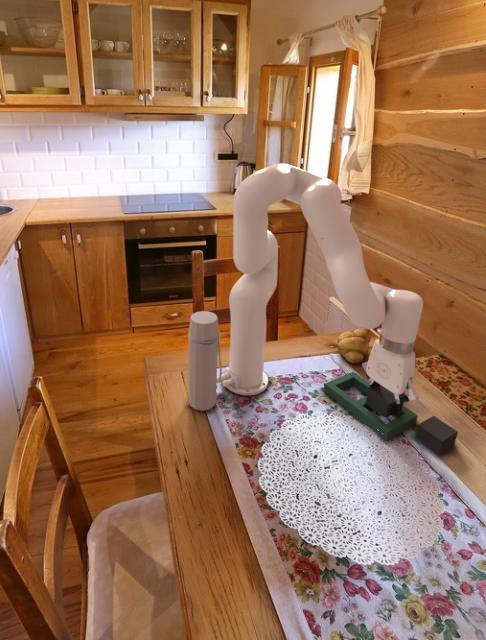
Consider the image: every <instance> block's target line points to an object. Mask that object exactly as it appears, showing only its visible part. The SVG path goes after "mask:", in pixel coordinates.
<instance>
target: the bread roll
mask: <svg viewBox="0 0 486 640" xmlns="http://www.w3.org/2000/svg"><path fill="white" fill-rule="evenodd" d="M370 330H371V329H363V328H360V327H359V328H357V329H355V330H354V331H344V332H342V333H341V334H340V335H339V336H338V338H337V350H338V353H339V354H340V355H341V356H342V357H344V358H345V360H346V361H347V362H349V363H351V364H359V363H361V362H362V361H363V359H364V358H365V357H367V355H368V354H369V348H370V342H371V339H372V332H371V331H370Z"/></svg>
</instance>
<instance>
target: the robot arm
mask: <svg viewBox="0 0 486 640" xmlns="http://www.w3.org/2000/svg"><path fill="white" fill-rule="evenodd" d="M342 195H343V194H342V191H341V188H340V187H339V185H338V184H336V182H334V181H333V180H331V179H329V178H325V177H323V176H320V175H318V174H315V173H313V172H310V171H307V170H304V169H302V168H299V167H298V166H297V167H296V166H294V165H292V164H288V163H280V162H279V163H274V164H272V165H269V166H266V167H264V168H262V169H259V170H257V171H255V172H254V173H252V174H250V175H248V176H247V177H246V178H244V179H243V180H242V181H241V182H240V184H239V185H238V186H237V187H236V190H235V192H234V195H233V201H232V202H233V204H232V208H233V209H232V212H233V213H232V214H233V215H232V216H233V217H232V218H233V223H232V227H233V228H232V257H233V258H232V259H233V263H234V266H235V268H236V269H237V270H238V271H239V272H240V273H242V274H243V275H242V276H241V277H240V278H238V280H237V281H236V282H235V283H234V285H233V286H232V288H231V290H230V293H229V297H228V305H229V312H230V336H229V337H230V339H229V364H228V366H227V367H225V371H223V372H222V376H221V381H220V382H218V383H217V384H220V383H222V386H223V387H225V388H226V389H227V390H228V391H230V392H232V393H234V394H236V395H241V396H255V395H258V394H261V393H263V392H264V391H265V390H266V389H267V388H268V386H269V377H268V375H267V373H265V372H266V371H264V367H265V355H266V354H265V353H266V338H267V306H268V303H269V301H270V299H271V297H273V295H274V293H275V291H276V289H277V285H278V270H279V269H278V265H279V244H278V241H277V238H276V237H275V235H274V233H273V232H271V231H270V230H269V215H268V209H269V207H271V206H273V205H275V204H277V203H280V202H281V201H283V200H286V201H289V202H291V203H294V204H297V205H299V206H300V210H301V212H302V215H303V217H304V219H305V220H306V223H307V224H308V226H309V228H310V231H311V233H312V235H313V237H314V239H315V240H316V243H317V245H318V247H319V249H320V250H321V252H322V256H323V257H324V260H325V264H326V267H327V270H328V272H329V276H330V278H331V281H332V285H333V287H334V290H335V292H336V295H337V297H338V299H339V302H340V303H341V305H342V307H343V309H344V312H345V313H346V315H347V317H348V318H349V320H350V321H351V322H352V323H353V325H355V326H356V327H358V328H359V329H360V328H363V329H368V330H373V329H376V328H377V327H378V328H377V329H376V333H377V334H378V335H379V336H378V339H376V340H375V341H374V344H373V345H372V348H371V350H370V353H369V355H368V356H369V357H368V359H367V361H365V362H363V363H362V364H361V366H362V368H363V371H364V373H365V376H366V377H367V381H368V384H369V390H370V389H373V388H375V387H377V386H379V385H382V386H383V387H385V388H386V389H388V390H389V391H391V392H392V393H394V396H395V401H393V402H392V408H391V412H390V415H391V416H390V417H394V416H396V414H399V413H401V411H402V408H403V406H404V403H408V402H413V401H416V400H419V399H420V396H419V393H418V392H417V389H416V387H415V385H414V378H415V374H416V373H415V372H416V353H415V352H414V349H415V345H416V340H417V336H418V330H419V326H420V322H421V318H422V313H423V308H424V299H422V297H421V296H420V295H419V294H418V293H416V292H414V291H410V290H405V289H395V288H392V287H388V286H385V285H382V284H379V283H376V282H371V281H370V279H369V277H368V273H367V270H366V267H365V263H364V257H363V255H364V254H363V248H362V245H361V241H360V238H359V236H358V234H357V233H356V230H355V228H354V227H353V225H352V223H351V220H350V219H349V216H348V214H347V212H346V210H345V208H344V205H343V203H342ZM380 325H381V327H379V326H380ZM219 375H220V374H217V381H218V380H219ZM407 392H408V394H407ZM400 394H401V396H400Z"/></svg>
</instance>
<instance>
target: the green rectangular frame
mask: <svg viewBox="0 0 486 640" xmlns="http://www.w3.org/2000/svg"><path fill="white" fill-rule="evenodd" d="M350 386H354V387H355V388H357V389H358V390H359V391H360V392H362V393H363V394H364V395H366V396H364V397H362V398H359V399H357V400H355V399H354V398H353V397H352V396H350V395H349V394H348V393H346V392H345V391H344V389H345V388H348V387H350ZM368 390H369V384H368V380H366V379H365V378H364V377H362V376H360V375H359V374H358V373H356V372H355V371H350V372H349V373H346V374H343V375H342V376H339V377H336V378H334V379H332V380H330V381H327V382H325V383H324V385H323V392H324V393H326V394H327V395H328V396H329V397H331V399H333V400H334V401H336V402H337V403H338V404H339V405H340V406H342V407H343V408H345V409H346V410H347V411H348V412H350V413H351V414H352V415H353V416H354V417H356V418H357V419H359V420H360V421H361V422H362V423H364V424H365V425H366V426H368V427H369V428H370V429H371V430H373V431H374V432H375V433H376V434H378V435H379V436H380V437H382V438H383V439H384V440H385V441H388V440H389V439H392V438H393V437H395V436H396V435H399V434H400V433H402V432H404V431H406V430H408V429H409V428H411V427H413V426H414V425H416V424H417V421H418V416H419V415H418V414H416V413H415V412H413V411H412V410H411V409H409V408H408V407H406V406H405V405H403V408H402V411H401V413H399V414H396V415H395V417H396V418H394V419H392V420H390V421H388V422H385V421H384V420H383V419H381V418H379V417H378V416H377V415H375V414H374V413H373V412H372V411H371V409H372V408H371V407H370V406H369V405H367V404H366V399H367V393H368ZM377 429H378V430H379V431H378V430H377ZM382 433H383V434H382Z"/></svg>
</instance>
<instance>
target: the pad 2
mask: <svg viewBox="0 0 486 640" xmlns="http://www.w3.org/2000/svg"><path fill="white" fill-rule="evenodd" d="M458 433H459V431H458V430H456V429H455V428H453V427H452V426H450V425H449V424H447V423H445V422H444V421H442V420H441V419H439V418H438V417H436V416H435V415H432V416H429V418H427V419H425V420H423V421H422V422H419V423H418V424H417V427H416V431H415V436H414V439H416V440H417V441H418V442H419V443H421V444H422V445H424V446H426V448H428V449H429V450H430V451H432V452H433V453H435V454H436V455H437V456H440V455H442V454H444V453H445V452H447V451H448V450H450V449H451V448H452V447H454V446H455V445H456V440H457V437H458Z"/></svg>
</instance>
